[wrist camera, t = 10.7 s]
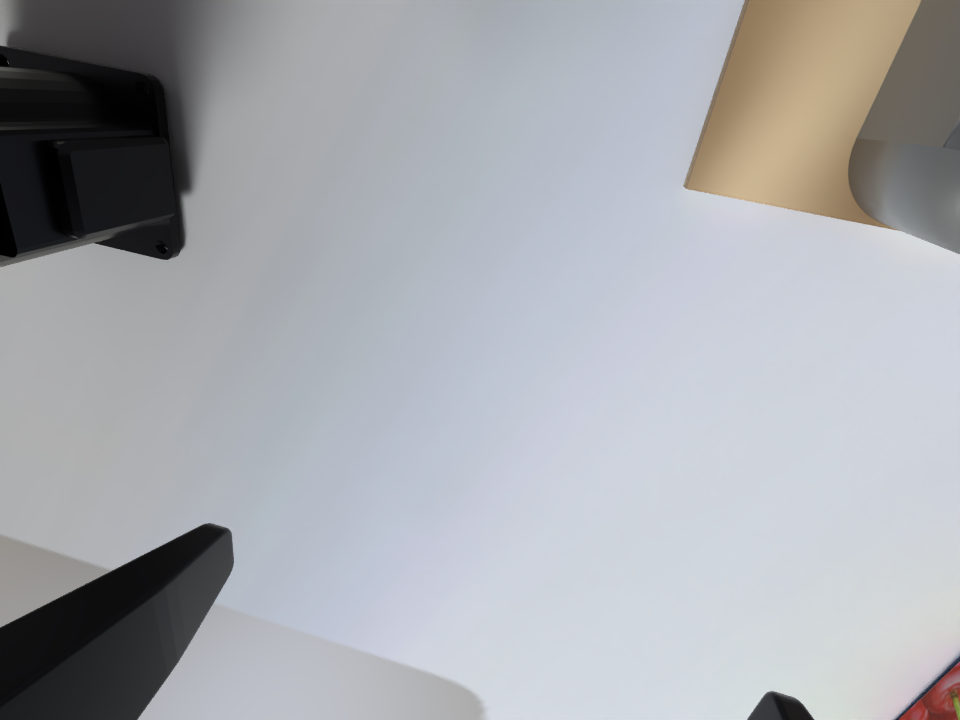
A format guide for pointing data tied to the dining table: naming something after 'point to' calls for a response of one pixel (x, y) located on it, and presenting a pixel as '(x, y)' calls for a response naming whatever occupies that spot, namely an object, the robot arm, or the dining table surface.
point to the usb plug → (916, 133)
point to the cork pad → (797, 102)
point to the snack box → (939, 700)
